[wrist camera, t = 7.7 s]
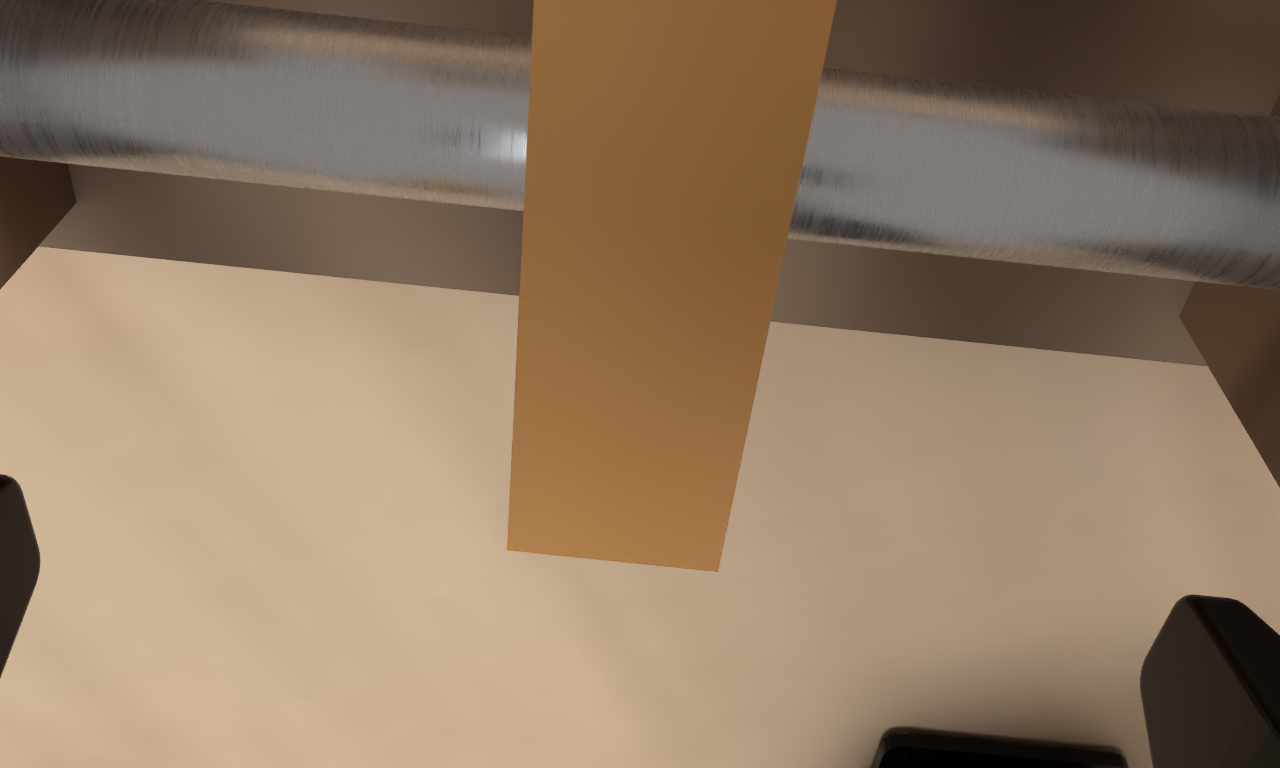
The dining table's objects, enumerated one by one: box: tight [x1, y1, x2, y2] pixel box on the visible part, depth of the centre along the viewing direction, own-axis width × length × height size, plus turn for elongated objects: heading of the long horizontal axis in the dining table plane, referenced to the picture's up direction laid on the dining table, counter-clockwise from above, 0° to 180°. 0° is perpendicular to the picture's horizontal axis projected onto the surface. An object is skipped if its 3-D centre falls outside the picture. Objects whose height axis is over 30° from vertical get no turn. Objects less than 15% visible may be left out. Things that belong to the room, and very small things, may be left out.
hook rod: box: [0, 0, 1280, 290], centre depth 14 cm, size 22×2×2 cm, turn 85°
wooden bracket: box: [507, 0, 837, 572], centre depth 14 cm, size 2×8×6 cm, turn 174°
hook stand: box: [0, 0, 1280, 487], centre depth 16 cm, size 28×12×8 cm, turn 84°
